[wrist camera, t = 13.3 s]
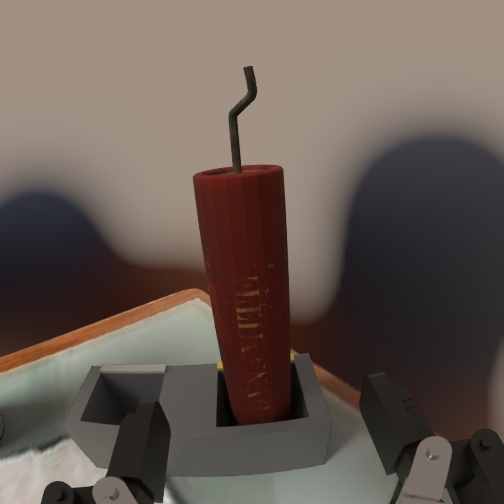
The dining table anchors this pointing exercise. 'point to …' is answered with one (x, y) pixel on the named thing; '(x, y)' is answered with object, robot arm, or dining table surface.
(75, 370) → the dining table surface
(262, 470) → the socket block
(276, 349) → the firecracker
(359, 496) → the dining table surface
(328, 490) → the dining table surface
